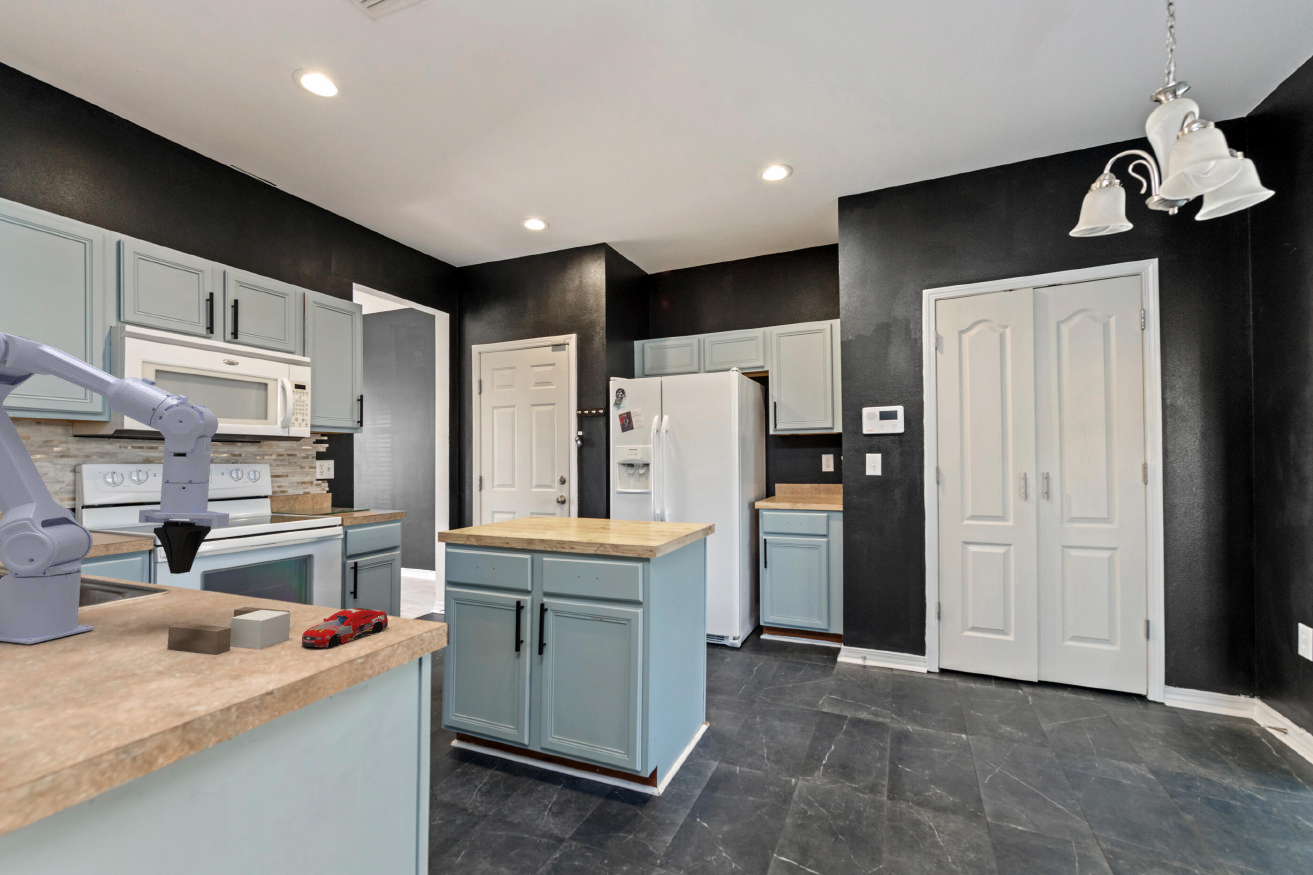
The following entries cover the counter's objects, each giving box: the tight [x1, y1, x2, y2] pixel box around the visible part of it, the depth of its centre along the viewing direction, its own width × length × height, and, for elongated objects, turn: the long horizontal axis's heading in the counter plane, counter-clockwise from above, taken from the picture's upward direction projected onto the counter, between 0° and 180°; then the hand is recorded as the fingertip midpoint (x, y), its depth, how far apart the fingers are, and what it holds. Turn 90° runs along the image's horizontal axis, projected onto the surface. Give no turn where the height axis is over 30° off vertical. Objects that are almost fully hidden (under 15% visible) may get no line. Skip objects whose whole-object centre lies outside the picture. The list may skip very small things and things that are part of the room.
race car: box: [301, 607, 389, 649], centre depth 90 cm, size 13×5×4 cm, turn 159°
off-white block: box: [230, 610, 291, 650], centre depth 87 cm, size 5×5×4 cm
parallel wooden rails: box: [166, 606, 290, 655], centre depth 88 cm, size 8×12×3 cm, turn 168°
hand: (180, 572), depth 92 cm, fingers closed
